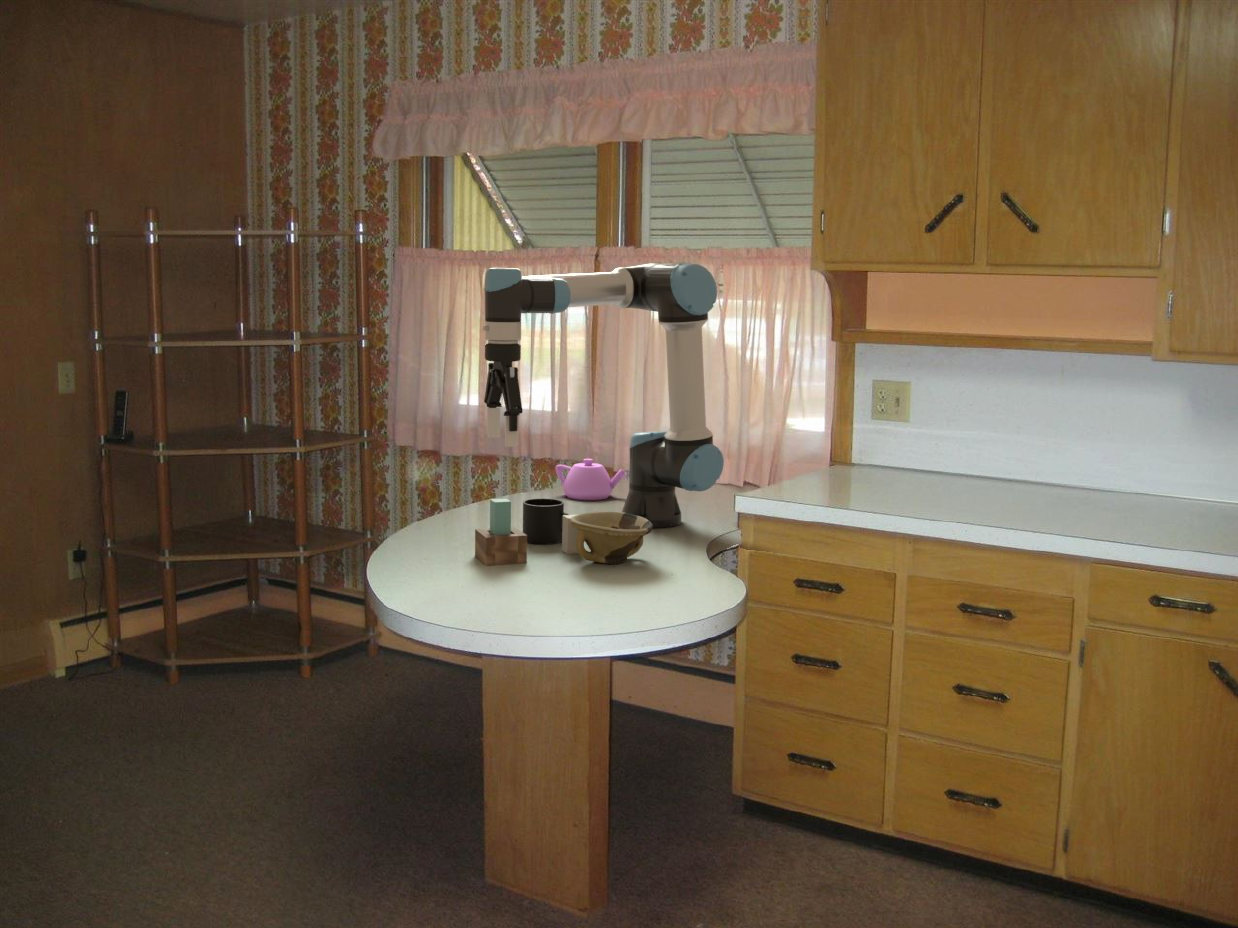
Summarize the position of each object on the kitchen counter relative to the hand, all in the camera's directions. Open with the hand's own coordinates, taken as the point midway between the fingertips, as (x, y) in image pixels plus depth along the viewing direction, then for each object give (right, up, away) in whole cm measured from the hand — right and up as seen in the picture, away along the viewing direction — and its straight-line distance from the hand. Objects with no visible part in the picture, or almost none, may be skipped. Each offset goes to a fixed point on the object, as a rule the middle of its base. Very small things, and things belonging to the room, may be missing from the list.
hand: (502, 442), depth 257 cm
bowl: (+23, -26, +5) cm, 35 cm away
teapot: (+17, -14, +80) cm, 83 cm away
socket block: (-1, -25, +4) cm, 26 cm away
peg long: (-1, -25, +4) cm, 26 cm away
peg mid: (+14, -24, +13) cm, 31 cm away
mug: (+8, -23, +23) cm, 33 cm away
